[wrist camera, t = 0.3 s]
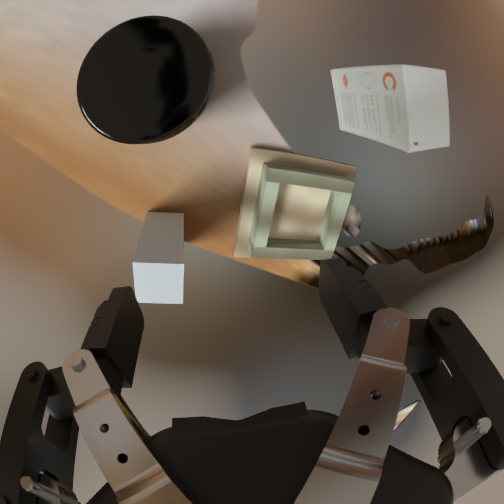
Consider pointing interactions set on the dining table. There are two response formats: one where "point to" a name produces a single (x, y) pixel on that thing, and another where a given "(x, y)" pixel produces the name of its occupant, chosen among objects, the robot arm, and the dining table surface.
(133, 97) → the supplement container
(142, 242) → the block
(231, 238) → the dining table surface
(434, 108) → the small box
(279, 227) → the cradle jig
